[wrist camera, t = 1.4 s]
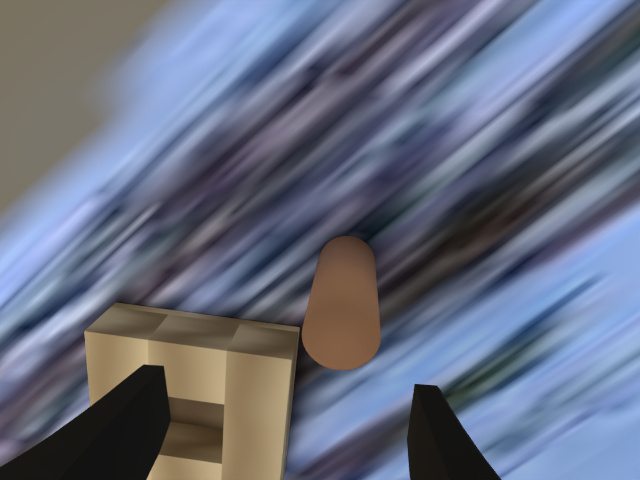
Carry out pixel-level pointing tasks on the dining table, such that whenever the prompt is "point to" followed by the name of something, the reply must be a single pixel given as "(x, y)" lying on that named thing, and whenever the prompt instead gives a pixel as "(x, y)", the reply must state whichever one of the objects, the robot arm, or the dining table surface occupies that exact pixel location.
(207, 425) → the bore block
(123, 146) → the dining table surface
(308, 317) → the pin
